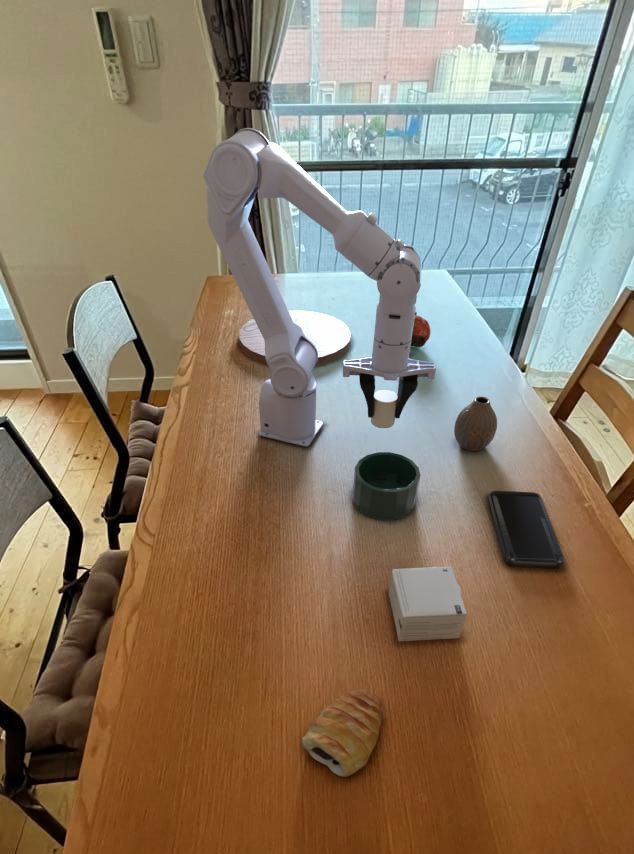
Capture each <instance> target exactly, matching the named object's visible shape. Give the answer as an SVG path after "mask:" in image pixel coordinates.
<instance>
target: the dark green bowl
mask: <svg viewBox="0 0 634 854" xmlns="http://www.w3.org/2000/svg"><path fill="white" fill-rule="evenodd" d="M420 471H421V470H420V468H419V466H418V465H417V464H416V463H415V462H414V461H413V460H412V459H410V458H409V457H406V456H405V455H403V454H399V453H395V452H392V451H391V452H390V451H387V452H386V451H384V452H383V451H377V452H374V453H370V454H366V455H364V456H363V457H362V458H361V459H359V460H358V461H357V463H356V464H355V467H354V474H353V485H352V501H353V504H354V506H355V508H357V510H358V511H359V512H360V513H362V514H363V515H365V516H367V517H369V518H372V519H376V520H382V521H393V520H398V519H401V518H404V517H406V516H407V515H409V514H410V513H411V512H412V510H413V509H414V507H415V503H416V500H417V496H418V491H419V490H418V489H419V486H420V480H421V472H420Z"/></svg>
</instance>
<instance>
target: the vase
mask: <svg viewBox="0 0 634 854" xmlns="http://www.w3.org/2000/svg"><path fill="white" fill-rule="evenodd" d="M497 429H498V417H497V414H496V413H495V410H494V409H493V407H492V404H491V401H490V399H489V398H488V397H486V396H476V397H475V398H474V399H473V401H472V402H470V403H469V404H467V405H466V406H464V407H463V409H461V411H460V412H459V413H458V415H457V417H456V420H455V423H454V428H453V433H454V439H455V441H456V442H457V444H458V445H459V446H460V447H461V448H462V449H464V450H466V451H470V452H477V451H481V450H483V449H485V448H486V447H488V446H489V445H490V444H491V443H492V441H493V440H494V438H495V436H496V433H497Z"/></svg>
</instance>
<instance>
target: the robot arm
mask: <svg viewBox="0 0 634 854" xmlns="http://www.w3.org/2000/svg"><path fill="white" fill-rule="evenodd" d="M203 179H204V183H205V184H206V185H205V186H206V213H207V215H206V216H207V224H208V227H209V230H210V232H211V234H212V236H213V238H214V239H215V242H216V244H217V246H218V248H219V250H220V252H221V254H222V256H223V258H224V260H225V262H226V264H227V267H228V268H229V270H230V271H229V272H230V273H231V274H232V277H233V278H234V282H235V283H236V285H237V287H238V289H239V291H240V293H241V296H242V297H243V299H244V302H245V303H246V305H247V307H248V310H249V312H250V314H251V315H252V317H253V318H252V319H254V320H255V322H256V324H257V326H258V328H259V330H260V332H261V334H262V336H263V338H264V341H265V356H266V362H267V364H268V365H267V366H268V368H269V379H266V380H265V381H264V383H263V384H262V386H261V389H260V392H259V398H258V409H259V410H258V411H259V425H260V430H259V432H258V436H260V437H263V438H267V439H272V440H275V441H280V442H284V443H289V444H293V445H296V446H301V447H304V448H308V447H309V446H311V444H312V442H313V441H314V439H315V438H316V436H317V435H318V433H319V432H320V430H321V429H322V428H323V426H324V422H323V420H318V419H317V381H316V379H315V377H314V373H313V372H314V368H315V367H316V366H315V365H316V363H317V361H318V352H317V349H316V347H315V345H314V344H313V343H312V342H311V341H310V340H309V339H308V338H307V337H306V336H305V334H304V333H303V330H302V328H301V327H300V326H298V325H296V324H295V323H294V322H293V321H292V318H291V316H290V314H289V312H288V310H289V309H288V307H287V305H286V303H285V300H284V298H283V296H282V294H281V292H280V290H279V287H278V285H277V282H276V280H275V278H274V276H273V274H272V271H271V269H270V266H269V264H268V262H267V260H266V258H265V255H264V253H263V251H262V249H261V246H260V244H259V242H258V240H257V237H256V235H255V232H254V231H253V228H252V226H251V224H250V222H249V216H250V213H251V210H252V207H253V204H254V201H255V199H256V195H257V199H278V198H279V199H281V198H282V199H284V200H286V201H287V202H288V203H290V204H292V206H294V207H295V208H297V209H298V210H299V211H301V212H302V213H303V214H305V215H306V216H307V217H308V218H310V219H311V220H312V221H313V222H315V223H316V224H318V225H319V226H321V227H322V228H323V229H324V230H325V231H327V232H329V234H331V235H332V238H333V242H334V249H335V251H337V252H338V253H339V254H340V255H341V256H343V257H344V258H345V259H346V260H348V261H349V262H350V263H351V264H352V265H353V266H355V267H356V269H358V270H360V271H361V272H362V273H363V274H364V275H365V276H367V277H368V278H369V279H371V280H373V281H375V282H376V287H377V291H378V293H379V296H378V297H379V298H378V303H377V305H376V310H375V324H374V333H373V341H372V352H371V356H370V357H364V358H357V359H343V361H342V377H343V378H350V377H351V376H358V377H359V386H360V389H361V392H362V394H363V396H364V400H365V402H366V407H367V417H368V418H370V419H371V418H372V416H373V399H374V393H375V392H376V377H380V378H383V380H385V381H394V382H395V381H398V385H397V393H396V394H397V396H398V400H397V407H396V414H395V419H400V418H401V415H402V413H403V410H404V407H405V405H406V404H407V402H408V400H409V399H410V398H411V397H412V395H413V394H414V393H415V392H416V391H417V389H418V385H419V382H418V379H419V378H426V379H427V380H435V377H436V371H437V367H436V366H437V365H436V363H435V362H433V361H431V362H430V361H425V360H424V361H423V360H418V359H413V358H410V354H409V352H410V353H411V350H410V345H411V339H412V332H413V326H414V319H415V312H417V309H416V304H417V299H418V293H419V292H420V289H421V286H422V284H421V278H422V268H423V266H422V265H423V264H422V261H421V257H420V255H419V254H418V252H417V251H416V250H415V248H414V247H413V246H411V245H410V244H405V242H404V241H402V240H401V239H400V238H398V239H397V240H396V239H395V238H394V237H393V236H391V234H390V233H388V232H387V231H386V230H385V229H384V228H382V227H381V226H380V225H379V224H377V222H378V220H379V218H378V217H377V215H375V214H374V212H369V213H368V214H366V213H365V212H364V211H362V210H354V211H347V210H346V209H345V208H344V207H343V206H342V205H341V204H340V203H339V202H338V201H336V199H335V198H334V197H333V196H331V194H330V193H328V192H327V190H325V189H324V188H323V187H322V186H321V185H320V183H317V182H316V180H314V178H312V176H310V175H309V174H308V173H307V172H306V171H305V170H304V169H303V168H302V167H301V166H300V165H299V164H297V162H296V161H295V160H293V159H292V157H290V155H289V154H287V152H286V151H285V150H284V149H283V148H282V147H281V146H280V145H278V144H276V143H275V142H274V141H269V139H268V138H267V137H266V136H265V135H264V134H263V132H261V131H260V130H257V129H255V128H252V127H245V128H241V129H238V131H236V132H235V133H234V134H233V135H232V136H231V137H230V138H228V139H226V140H223V141H220V142H219V143H218V144H216V145H215V147H214V148H212V151H211V153H210V155H209V158H208V161H207V164H206V167H205V169H204V172H203Z"/></svg>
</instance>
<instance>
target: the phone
mask: <svg viewBox="0 0 634 854" xmlns="http://www.w3.org/2000/svg"><path fill="white" fill-rule="evenodd" d="M488 503H489V507H490V511H491V515H492V518H493V522H494V526H495V530H496V533H497V538H498V542H499V546H500V550H501V553H502V557H503V560H504V561H503V562H505V564H507V565H508V566H510V567H518V568H519V567H520V568H538V569H539V568H540V569H559V568H560V567H561V566H562V564H563V562H564V559H565V558H564V555H563V552H562V549H561V547H560V544H559V542H558V539H557V536H556V533H555V530H554V528H553V527H554V526H553V524H552V522H551V520H550V516H549V514H548V510H547V509H546V506H545V503H544V500H543V497H542V496H541V495H540V493H537V492H534V491H515V490H492V491H491V492H490V494H489V497H488Z"/></svg>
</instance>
